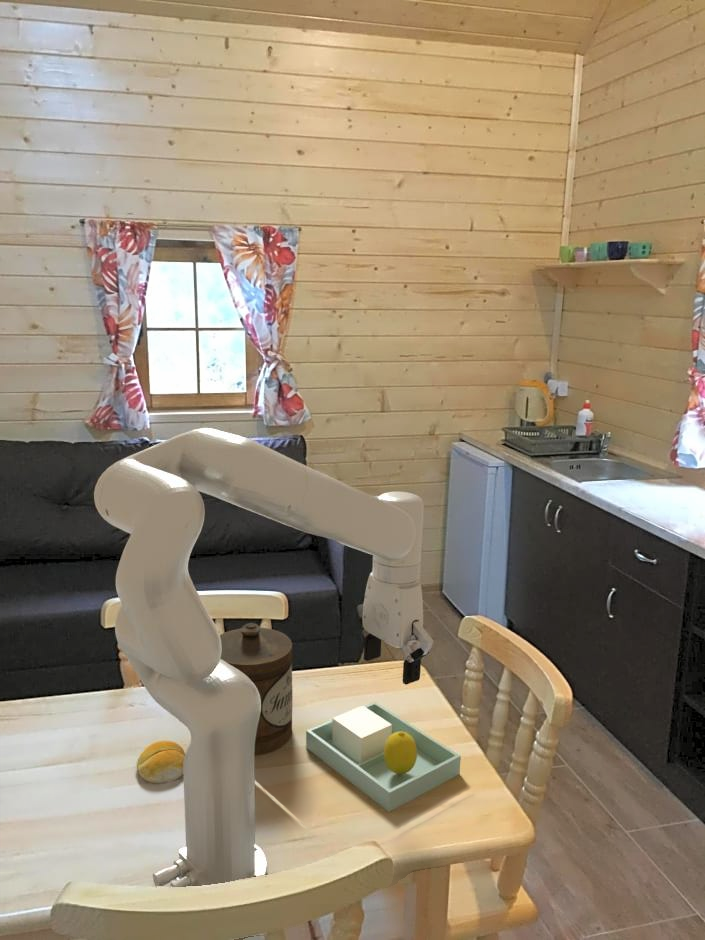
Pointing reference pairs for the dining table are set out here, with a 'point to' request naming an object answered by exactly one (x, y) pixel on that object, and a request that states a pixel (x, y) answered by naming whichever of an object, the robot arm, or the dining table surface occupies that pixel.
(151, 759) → the bread roll
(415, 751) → the lemon
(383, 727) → the carton
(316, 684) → the dining table surface
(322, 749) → the tray
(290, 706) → the wooden container
